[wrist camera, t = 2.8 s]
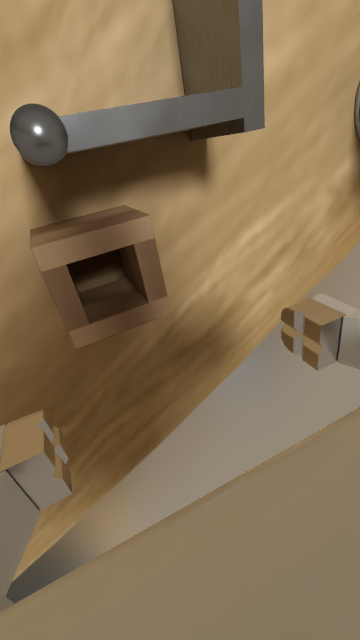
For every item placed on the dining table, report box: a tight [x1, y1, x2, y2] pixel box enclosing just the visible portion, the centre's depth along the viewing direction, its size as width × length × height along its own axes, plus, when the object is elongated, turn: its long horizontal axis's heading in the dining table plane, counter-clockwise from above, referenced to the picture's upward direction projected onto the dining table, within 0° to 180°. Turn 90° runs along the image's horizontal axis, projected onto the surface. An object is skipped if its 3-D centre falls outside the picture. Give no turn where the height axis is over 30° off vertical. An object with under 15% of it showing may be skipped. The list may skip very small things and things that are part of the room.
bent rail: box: [10, 0, 265, 166], centre depth 13 cm, size 12×8×8 cm
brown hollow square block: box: [30, 205, 171, 349], centre depth 18 cm, size 6×6×5 cm
